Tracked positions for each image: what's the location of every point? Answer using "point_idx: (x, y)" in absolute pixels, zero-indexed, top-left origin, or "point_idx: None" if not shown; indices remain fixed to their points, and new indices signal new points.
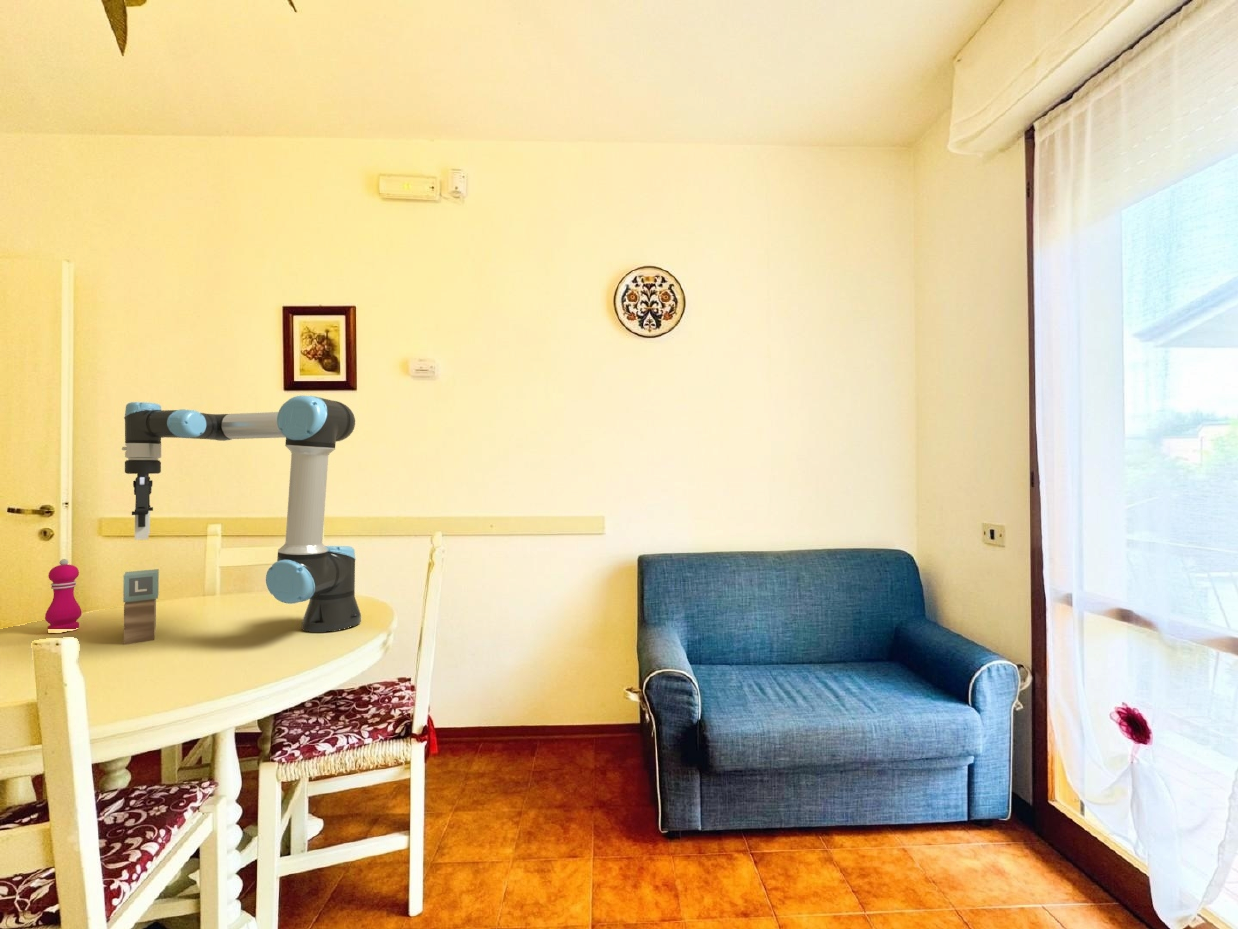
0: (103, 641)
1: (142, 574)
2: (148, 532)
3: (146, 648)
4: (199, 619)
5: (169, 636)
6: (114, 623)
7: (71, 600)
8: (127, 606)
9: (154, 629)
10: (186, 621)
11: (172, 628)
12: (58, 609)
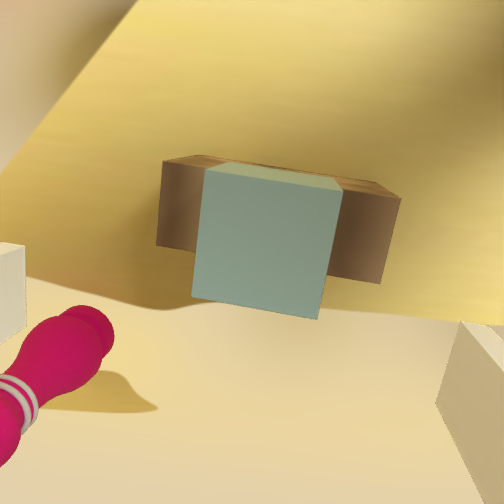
0: None
1: (330, 253)
2: (15, 260)
3: (458, 210)
4: (196, 31)
5: (365, 142)
6: (79, 235)
7: (56, 362)
8: (382, 273)
9: (336, 178)
10: (196, 71)
11: (264, 120)
12: (81, 377)
